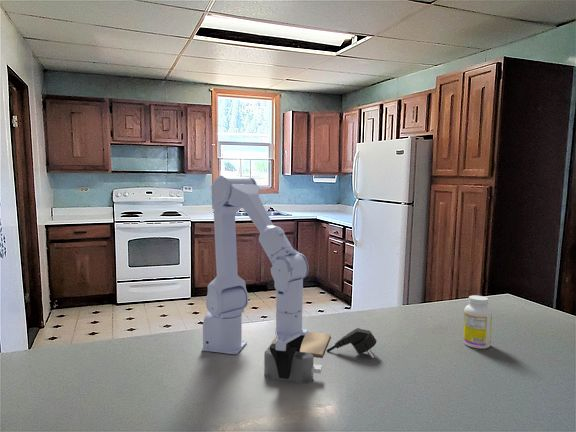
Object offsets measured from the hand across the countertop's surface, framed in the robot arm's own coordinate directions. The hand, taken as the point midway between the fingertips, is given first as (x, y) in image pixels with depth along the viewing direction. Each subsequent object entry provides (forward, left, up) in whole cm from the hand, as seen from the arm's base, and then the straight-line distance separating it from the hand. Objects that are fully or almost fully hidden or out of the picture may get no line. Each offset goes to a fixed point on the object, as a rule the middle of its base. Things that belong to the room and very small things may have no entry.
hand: (288, 369), depth 91 cm
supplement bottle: (+44, +31, -2) cm, 54 cm away
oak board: (-2, +19, -1) cm, 19 cm away
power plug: (+12, +16, -2) cm, 20 cm away
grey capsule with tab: (0, 0, -1) cm, 1 cm away
